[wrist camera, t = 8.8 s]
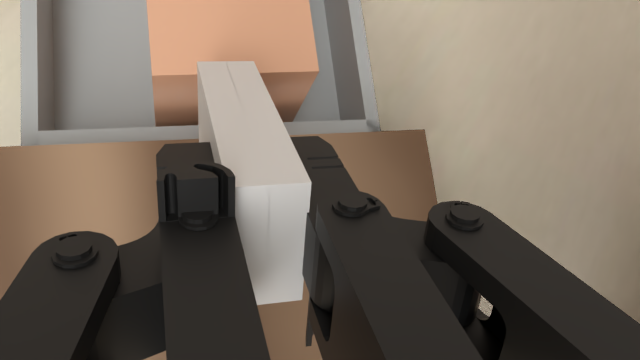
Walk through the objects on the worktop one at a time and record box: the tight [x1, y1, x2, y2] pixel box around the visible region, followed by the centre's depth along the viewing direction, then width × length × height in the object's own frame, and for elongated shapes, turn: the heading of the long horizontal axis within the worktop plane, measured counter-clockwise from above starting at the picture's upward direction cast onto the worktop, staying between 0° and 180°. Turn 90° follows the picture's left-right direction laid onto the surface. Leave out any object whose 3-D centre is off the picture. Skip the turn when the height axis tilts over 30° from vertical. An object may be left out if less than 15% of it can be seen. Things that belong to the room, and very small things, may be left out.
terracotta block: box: [146, 0, 319, 127], centre depth 22 cm, size 5×6×8 cm
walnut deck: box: [0, 130, 437, 360], centre depth 20 cm, size 14×10×5 cm
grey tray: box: [21, 0, 381, 146], centre depth 24 cm, size 12×12×4 cm
